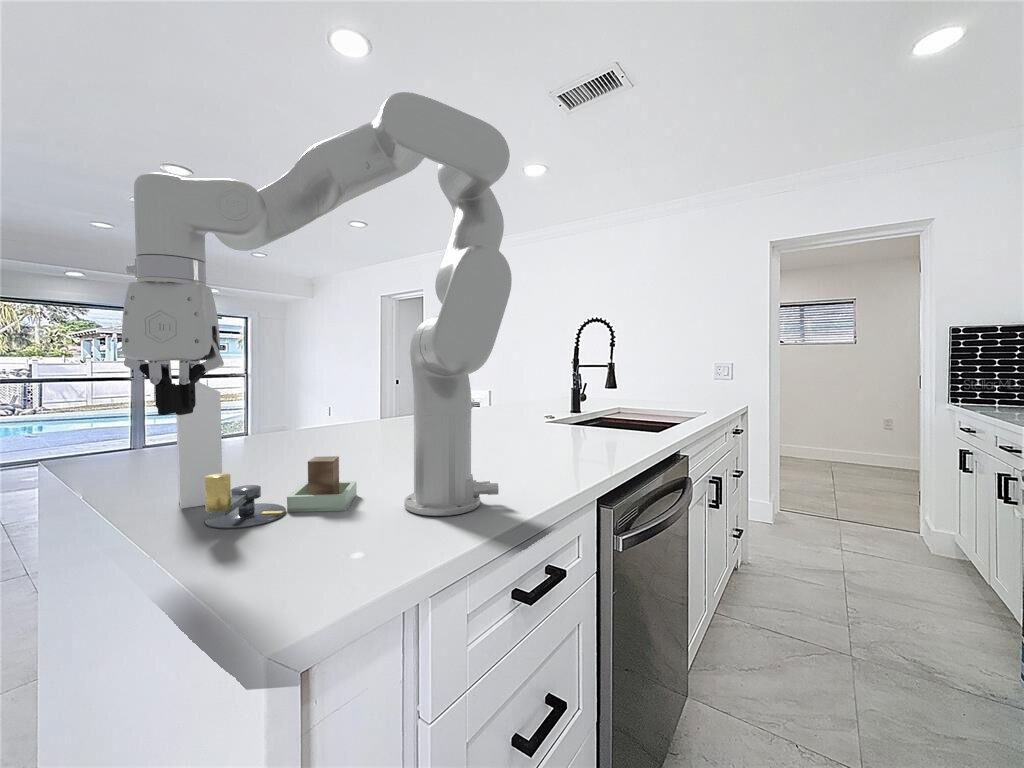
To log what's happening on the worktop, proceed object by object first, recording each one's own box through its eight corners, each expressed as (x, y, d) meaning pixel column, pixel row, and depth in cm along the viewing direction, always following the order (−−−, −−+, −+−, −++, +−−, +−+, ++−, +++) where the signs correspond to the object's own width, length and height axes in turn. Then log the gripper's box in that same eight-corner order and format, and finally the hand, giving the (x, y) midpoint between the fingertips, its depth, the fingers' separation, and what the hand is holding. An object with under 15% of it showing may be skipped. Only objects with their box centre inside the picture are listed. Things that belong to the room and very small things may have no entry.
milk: (180, 509, 79) (175, 373, 78) (178, 500, 84) (173, 372, 82) (224, 502, 83) (220, 372, 81) (219, 494, 87) (215, 371, 86)
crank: (238, 494, 77) (237, 459, 77) (264, 493, 78) (264, 459, 77) (197, 520, 65) (196, 479, 64) (229, 519, 65) (228, 478, 65)
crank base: (295, 504, 82) (295, 488, 81) (270, 527, 71) (270, 509, 71) (225, 506, 80) (225, 490, 80) (189, 530, 69) (189, 511, 69)
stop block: (339, 496, 85) (338, 456, 84) (333, 502, 81) (332, 461, 80) (315, 496, 84) (314, 456, 84) (308, 503, 80) (307, 461, 80)
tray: (356, 495, 88) (356, 481, 87) (345, 510, 79) (345, 495, 79) (304, 496, 87) (304, 482, 86) (287, 512, 78) (286, 496, 77)
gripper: (85, 267, 59) (91, 417, 60) (221, 271, 61) (225, 417, 62) (126, 277, 67) (131, 411, 68) (247, 280, 69) (249, 410, 70)
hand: (176, 413), depth 65 cm, fingers closed
